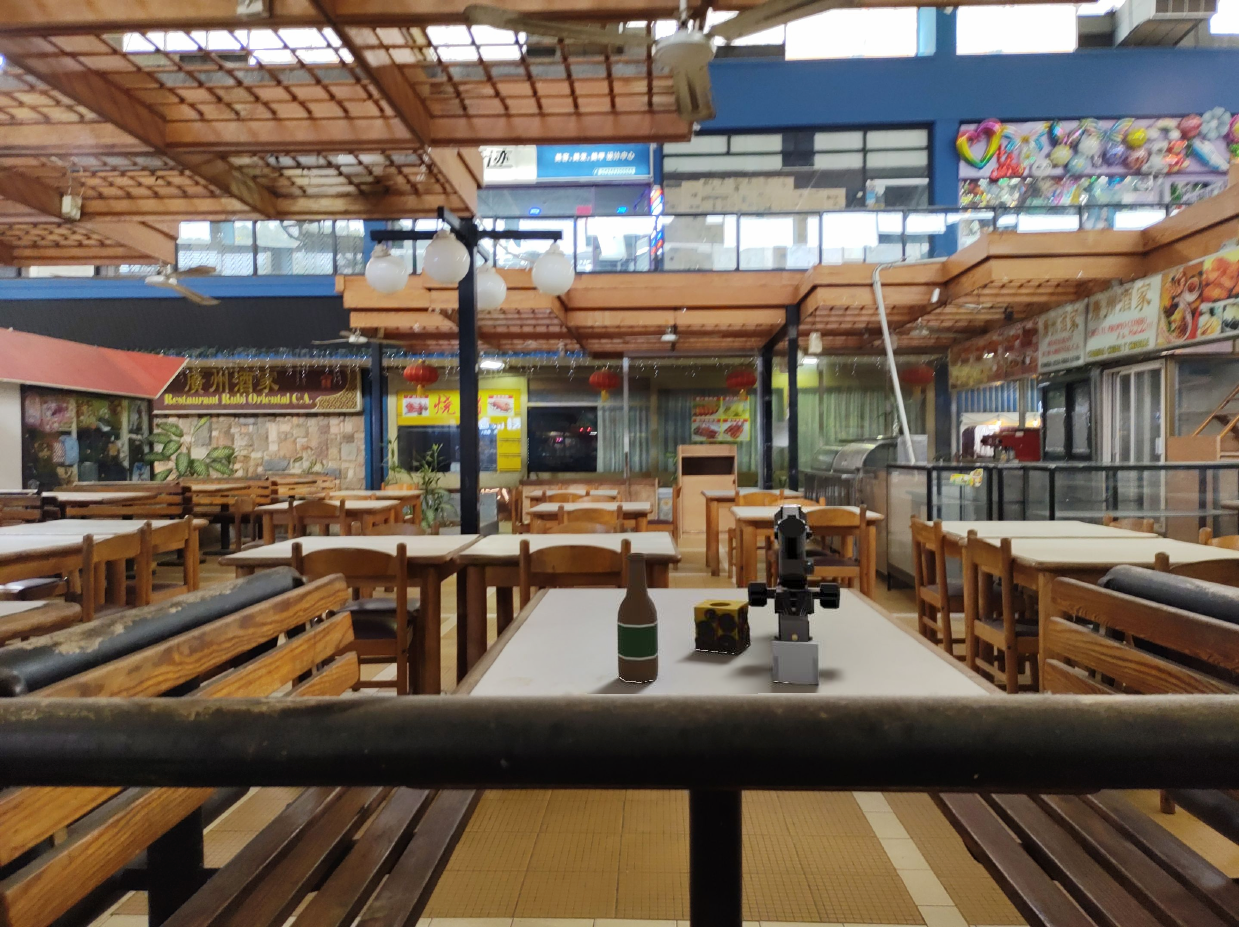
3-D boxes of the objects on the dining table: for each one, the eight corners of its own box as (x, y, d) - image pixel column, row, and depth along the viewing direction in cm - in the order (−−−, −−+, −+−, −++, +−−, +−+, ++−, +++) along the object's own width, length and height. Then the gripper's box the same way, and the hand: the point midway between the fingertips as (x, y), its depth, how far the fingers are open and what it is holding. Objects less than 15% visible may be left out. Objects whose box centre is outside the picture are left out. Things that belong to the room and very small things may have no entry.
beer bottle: (616, 673, 142) (614, 551, 142) (655, 671, 142) (653, 550, 142) (619, 685, 134) (617, 556, 134) (661, 683, 134) (659, 555, 135)
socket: (773, 669, 143) (773, 630, 143) (816, 670, 141) (815, 631, 141) (773, 682, 134) (772, 641, 134) (818, 684, 132) (818, 642, 132)
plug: (782, 664, 145) (781, 615, 145) (807, 665, 144) (806, 615, 144) (782, 673, 139) (781, 621, 139) (808, 674, 138) (807, 622, 138)
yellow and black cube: (751, 645, 163) (750, 601, 163) (739, 655, 154) (738, 609, 154) (708, 641, 167) (707, 598, 167) (693, 651, 158) (693, 606, 158)
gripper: (747, 543, 153) (745, 605, 142) (838, 544, 149) (844, 607, 138) (749, 575, 160) (748, 636, 149) (836, 577, 156) (841, 639, 145)
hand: (794, 629), depth 145 cm, fingers closed, pressing on plug
